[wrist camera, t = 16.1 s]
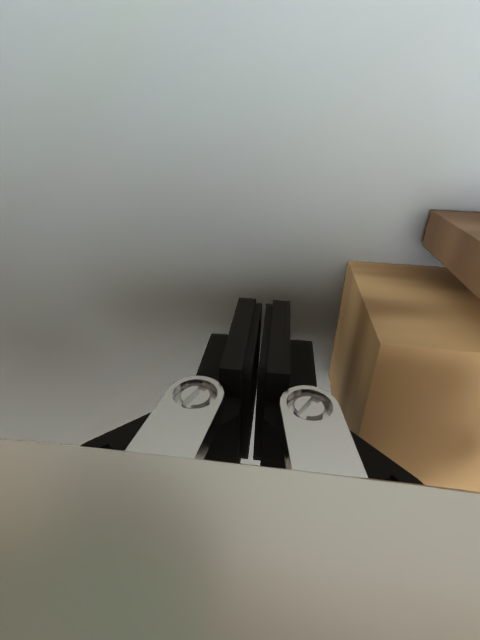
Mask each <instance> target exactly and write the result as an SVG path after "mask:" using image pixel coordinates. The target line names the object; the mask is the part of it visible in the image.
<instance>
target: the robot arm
mask: <svg viewBox="0 0 480 640" xmlns="http://www.w3.org/2000/svg"><path fill="white" fill-rule="evenodd" d="M261 314H262V303H256V299H253V298H239V300H238V304H237V307H236V311H235V314H234V318H233V321H232V325H231V328H230V332H229V335H226V334H211V336H210V339H209V342H208V345H207V347H206V350H205V353H204V355H203V358H202V361H201V364H200V366H199V369H198V372H197V374H196V376H188V377H185V378H182V379H180V380H178V381H176V382H174V383H173V384H172V385H171V386H170V387H169V388H168V390H167V391H166V392H165V394H164V395H163V397H162V398H161V400H160V401H159V402H158V404H157V405H156V407H155V408H154V410H153V411H152V412H151V413H149V414H147V415H145V416H142V417H140V418H138V419H136V420H134V421H131V422H129V423H127V424H125V425H123V426H120V427H118V428H116V429H114V430H112V431H110V432H107V433H105V434H103V435H101V436H99V437H96V438H94V439H92V440H90V441H88V442H86V443H84V444H82V445H81V446H74V445H64V444H55V443H46V442H35V441H22V440H8V439H0V640H480V492H475V491H468V490H461V489H455V488H446V487H438V486H429V485H424V484H423V483H422V482H421V481H420V480H419V479H418V478H416V477H415V476H413V475H412V474H411V473H409V472H408V471H406V470H405V469H404V468H402V467H401V466H399V465H398V464H397V463H395V462H394V461H392V460H391V459H390V458H388V457H387V456H386V455H384V454H383V453H381V452H380V451H379V450H377V449H376V448H374V447H373V446H372V445H370V444H369V443H367V442H366V441H365V440H363V439H362V438H360V437H359V436H358V435H356V434H355V433H353V432H352V431H351V430H349V428H348V426H347V423H346V421H345V418H344V416H343V413H342V410H341V408H340V405H339V403H338V402H337V400H336V398H335V397H334V396H332V395H331V394H330V393H329V392H327V391H325V390H323V389H321V388H318V387H317V384H316V375H315V365H314V356H313V346H312V342H311V341H302V340H290V301H281V300H273V304H266V312H265V320H264V328H263V336H262V344H261V352H260V360H259V351H260V332H261ZM257 381H258V382H257ZM256 389H257V400H256V418H255V437H254V455H253V460H261V463H260V466H257V465H248V464H240V460H241V458H243V459H248V454H249V446H250V438H251V430H252V422H253V414H254V405H255V397H256Z"/></svg>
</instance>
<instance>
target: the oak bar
mask: <svg viewBox="0 0 480 640" xmlns="http://www.w3.org/2000/svg"><path fill="white" fill-rule="evenodd" d="M329 381H330V388H331V395H332V396H334V397H335V398H336V400H337V402H338V403H339V405H340V408H341V410H342V413H343V416H344V418H345V421H346V423H347V426H348V428H349V430H351V431H352V432H353V433H355V434H356V435H358V436H359V437H360V438H362V439H363V440H365V441H366V442H367V443H369V444H370V445H372V446H373V447H374V448H376V449H377V450H379V451H380V452H381V453H383V454H384V455H386V456H387V457H388V458H390V459H391V460H392V461H394V462H395V463H397V464H398V465H399V466H401V467H402V468H404V469H405V470H406V471H408V472H409V473H411V474H412V475H413V476H415V477H416V478H418V479H419V480H420V481H421V482H422V483H423V484H424V485H429V486H438V487H446V488H455V489H461V490H468V491H475V492H480V299H479V298H478V297H477V296H476V295H475V294H474V293H472V292H471V291H470V290H469V289H468V288H467V287H466V286H465V285H464V284H463V283H462V282H461V281H460V280H459V279H458V278H457V277H456V276H455V275H454V274H452V273H451V272H450V271H449V270H448V269H447V268H446V267H437V266H420V265H404V264H387V263H371V262H354V261H348V264H347V270H346V276H345V282H344V288H343V294H342V300H341V306H340V312H339V317H338V323H337V329H336V335H335V341H334V347H333V353H332V359H331V365H330V371H329Z"/></svg>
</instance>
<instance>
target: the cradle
mask: <svg viewBox="0 0 480 640" xmlns="http://www.w3.org/2000/svg"><path fill="white" fill-rule="evenodd" d="M422 245H423V246H424V247H425V248H426V249H427V250H428V251H429V252H430V253H431V254H432V255H433V256H435V257H436V258H437V259H438V260H439V261H440V262H441V263H442V264H443V265H444V266H445V267H446V268H447V269H448V270H449V271H450V272H451V273H452V274H454V275H455V276H456V277H457V278H458V279H459V280H460V281H461V282H462V283H463V284H464V285H465V286H466V287H467V288H468V289H469V290H470V291H471V292H472V293H474V294H475V295H476V296H477V297H478V298H479V299H480V213H479V212H458V211H437V210H431V213H430V217H429V220H428V224H427V228H426V232H425V235H424V239H423V243H422Z"/></svg>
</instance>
